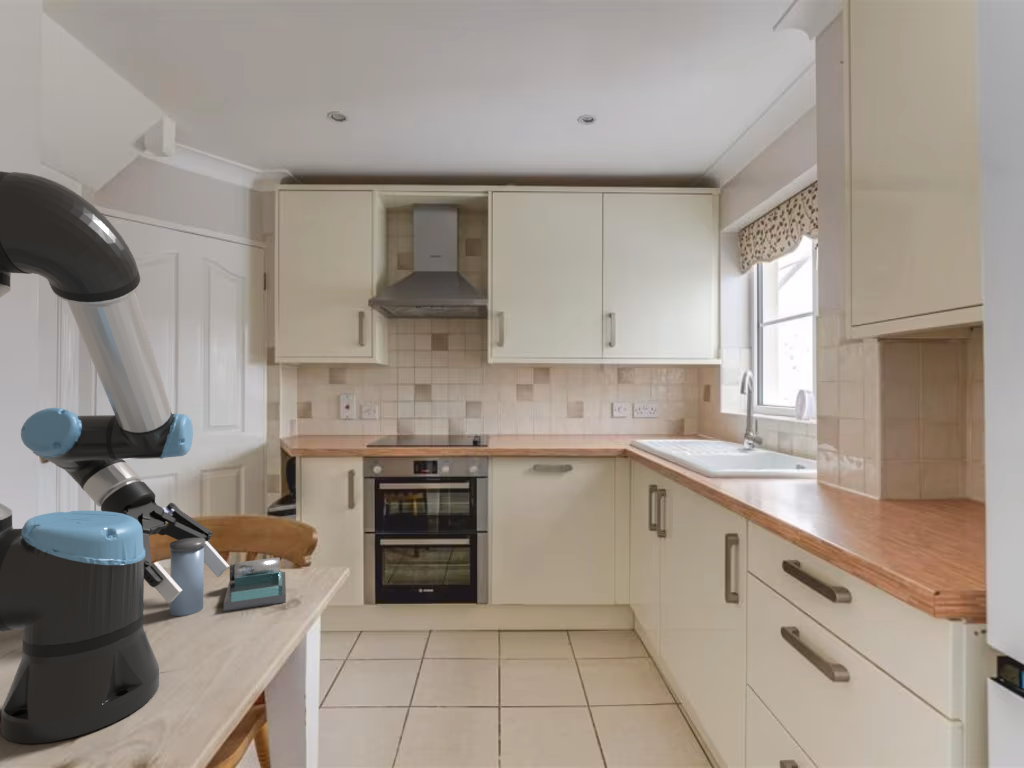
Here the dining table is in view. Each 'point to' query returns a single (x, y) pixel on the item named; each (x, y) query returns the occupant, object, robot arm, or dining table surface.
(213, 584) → the dining table surface
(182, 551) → the ball
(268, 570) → the motor mount
